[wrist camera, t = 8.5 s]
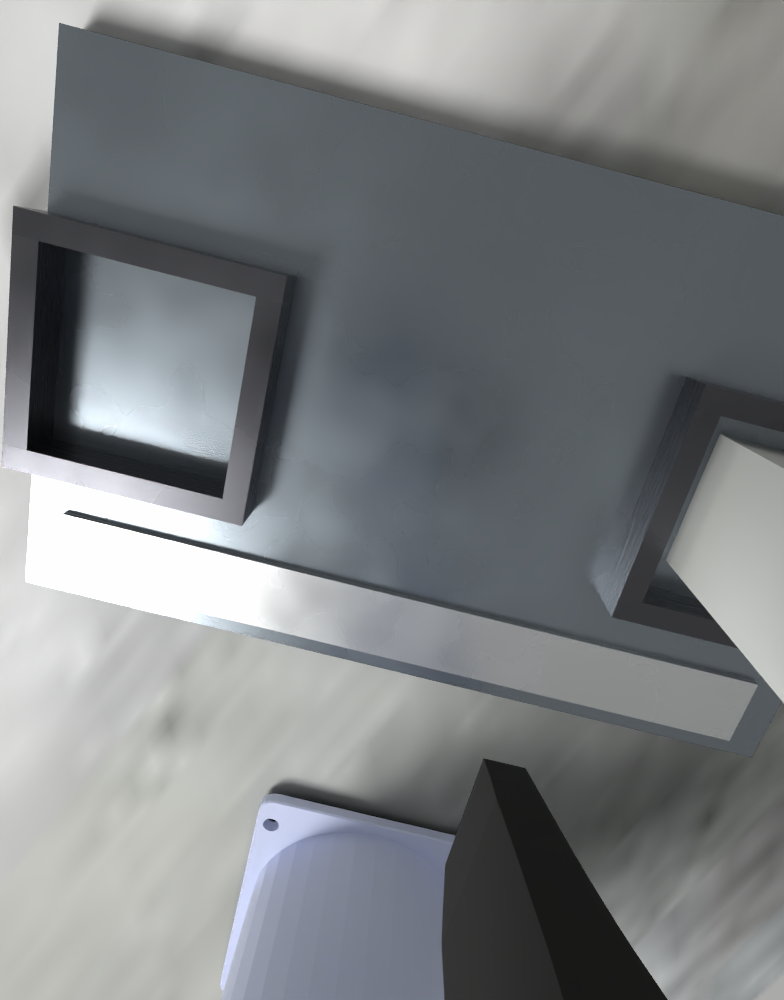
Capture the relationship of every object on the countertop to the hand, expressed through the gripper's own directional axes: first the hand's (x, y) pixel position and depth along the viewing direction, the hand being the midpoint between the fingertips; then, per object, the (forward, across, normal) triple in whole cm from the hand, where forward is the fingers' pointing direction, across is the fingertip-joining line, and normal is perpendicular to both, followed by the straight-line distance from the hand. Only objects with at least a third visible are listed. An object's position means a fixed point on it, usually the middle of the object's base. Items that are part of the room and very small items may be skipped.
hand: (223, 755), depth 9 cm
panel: (+10, -3, -3) cm, 11 cm away
